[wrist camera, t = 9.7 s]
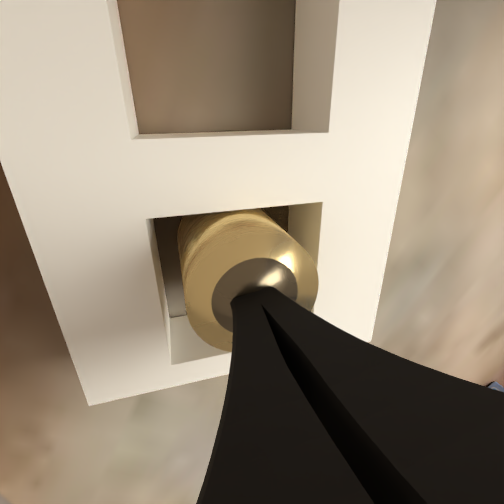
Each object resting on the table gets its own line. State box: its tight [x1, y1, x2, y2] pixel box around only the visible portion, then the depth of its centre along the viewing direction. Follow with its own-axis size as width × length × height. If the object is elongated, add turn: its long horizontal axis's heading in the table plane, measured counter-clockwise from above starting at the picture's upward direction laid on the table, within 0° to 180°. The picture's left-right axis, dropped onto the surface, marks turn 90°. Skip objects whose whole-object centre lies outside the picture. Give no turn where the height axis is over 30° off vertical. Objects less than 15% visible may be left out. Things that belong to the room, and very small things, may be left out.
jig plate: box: [0, 0, 437, 406], centre depth 10 cm, size 12×16×3 cm
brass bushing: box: [177, 208, 319, 352], centre depth 11 cm, size 4×4×5 cm
